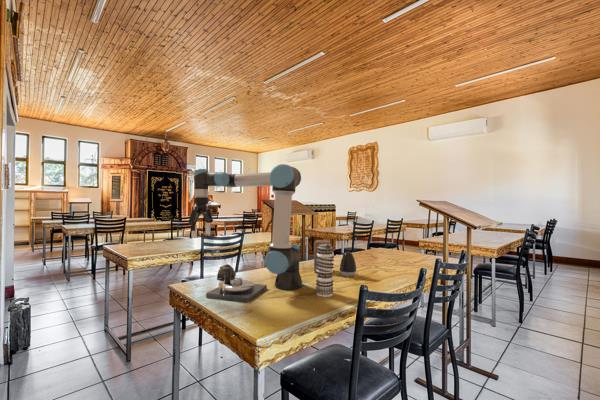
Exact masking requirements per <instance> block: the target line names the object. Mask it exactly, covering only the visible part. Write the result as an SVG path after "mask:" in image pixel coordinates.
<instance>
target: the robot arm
mask: <svg viewBox="0 0 600 400" xmlns="http://www.w3.org/2000/svg"><path fill="white" fill-rule="evenodd" d="M301 181H302V175H301V172H300V171H299V169H298V168H297V167H294V166H291V165H289V164H285V163H283V164H282V163H280V164H277V165H275V166H274V167H273V168H272V169H271V170H270V172H251V173H227V172H225V171H218V172H217V171H216V172H215V171H214V172H213V171H212V172H209V170H208V168H196V169H194V174H193V184H194V185H193V187H194V188H193V189H194V191H193V195H194V197H193V198H194V199H193V203H194V205H192V206H191V213H190V216H189V219H188V224H189V225H190V226H191V238H197V236H198V225H197V222H198V220H199V217H200V216H201V215H202V216H203V218H204V220H205V221H206V222H205V235H211V224H212V223H213V221H214V219H213V216H212V212H211V206H210V205H209V196H210V195H209V187H222V188H223V187H226V188H237V187H239V188H242V187H244V188H245V187H272V189H271V190H272V191H271V192H273V194H274V207H273V222H272V223H273V224H272V225H273V226H272V240H271V242H270V244H269V245H268V253H267V254H266V256H265V257H264V265H265V267H266V269H267V270H268V271H269V272H270V273H272V274H276V277H275V279H274V287H275V288H277V289H280V290H297V289H300V288H302V287H303V281H302V276H301V274H300V273H301V272H300V245H299V244H297V243H291V242H290V239H291V238H290V236H291V219H292V218H291V215H292V203H293V201H292V200H293V195H294V194H295V193H296V188H297V187H298V186H299V185H300V184H301Z"/></svg>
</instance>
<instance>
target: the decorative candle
mask: <svg viewBox="0 0 600 400" xmlns="http://www.w3.org/2000/svg"><path fill="white" fill-rule="evenodd" d="M317 248H318V250H317V251H318V253H317V255H316V258H317V259H316V265H317V266H316V269H317V270H316V271H317V272H316V273H317V274H316V283H315V284H316V286H315V287H316V288H315V289H316V290H315V291H316V294H317V295H316V296H317V297H321V296H322V297H321V298H328V297H329V298H330V297H332V296H333V295H334V287H333V286H334V279H333V278H334V277H333V272H334V270H333V269H335V268H334V266H335V264H334V263H333V262H334V261H335V259H334V258H335V256H334V254H333V248H334V247H333V246H332V245H331V243H330V244H319V246H318V247H317ZM317 256H318V257H317ZM317 263H318V264H317Z"/></svg>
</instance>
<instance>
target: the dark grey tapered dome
mask: <svg viewBox="0 0 600 400" xmlns="http://www.w3.org/2000/svg"><path fill="white" fill-rule="evenodd" d="M340 255H342V258H341V260H340V263H339V271H340V274H341V275H342V276H343V277H345V278H352V277H353V276H355V274H356V272H357V265H356V264H357V263H356V259H355V257H354V254H353V253H352V252H351V251H345V252H342V251H340Z"/></svg>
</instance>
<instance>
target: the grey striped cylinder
mask: <svg viewBox="0 0 600 400" xmlns="http://www.w3.org/2000/svg"><path fill="white" fill-rule="evenodd" d="M319 244H330V245H331V241H330V240H328V239H327V240H326V239H324V240H323V239H316V240H315V241H314V243H313V246H314V247H313V272H314V273H317V271H316V270H317V269H316V266H317V265H316V259H317V258H316V255H317V253H318V251H317V250H318V248H317V247H318V246H319ZM317 257H318V256H317ZM317 264H318V263H317Z"/></svg>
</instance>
